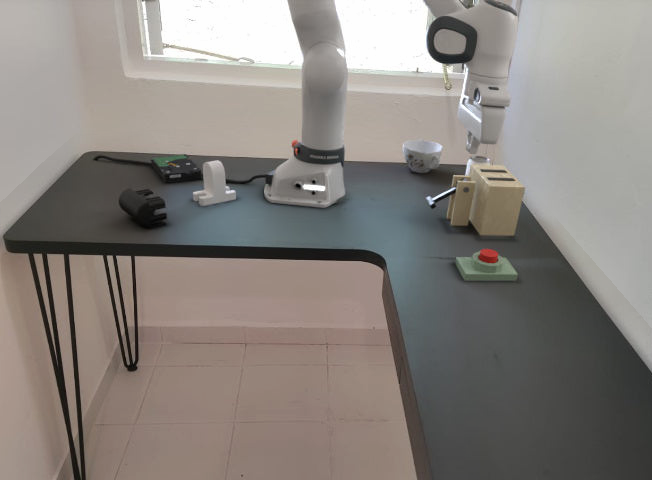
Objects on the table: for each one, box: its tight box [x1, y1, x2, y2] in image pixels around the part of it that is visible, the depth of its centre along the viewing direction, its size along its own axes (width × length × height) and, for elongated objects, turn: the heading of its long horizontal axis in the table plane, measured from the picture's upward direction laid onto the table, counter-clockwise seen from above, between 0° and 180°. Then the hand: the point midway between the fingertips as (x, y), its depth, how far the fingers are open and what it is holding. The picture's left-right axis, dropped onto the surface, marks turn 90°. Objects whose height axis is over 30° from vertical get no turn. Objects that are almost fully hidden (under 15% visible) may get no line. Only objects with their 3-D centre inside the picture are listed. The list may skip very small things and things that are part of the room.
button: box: [479, 248, 499, 263], centre depth 132 cm, size 4×4×2 cm
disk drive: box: [150, 154, 203, 183], centre depth 168 cm, size 10×3×15 cm
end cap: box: [118, 187, 168, 229], centre depth 138 cm, size 10×7×7 cm
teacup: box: [402, 139, 444, 174], centre depth 187 cm, size 15×12×8 cm
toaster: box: [469, 164, 526, 237], centre depth 152 cm, size 9×16×14 cm, turn 9°
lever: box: [425, 178, 468, 210], centre depth 149 cm, size 11×5×2 cm
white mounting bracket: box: [192, 159, 237, 207], centre depth 153 cm, size 5×10×10 cm, turn 131°
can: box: [464, 155, 491, 176], centre depth 169 cm, size 6×6×12 cm
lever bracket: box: [446, 174, 476, 227], centre depth 151 cm, size 6×8×13 cm
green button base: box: [454, 250, 519, 282], centre depth 133 cm, size 12×8×4 cm, turn 99°
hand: (471, 152), depth 133 cm, fingers closed
